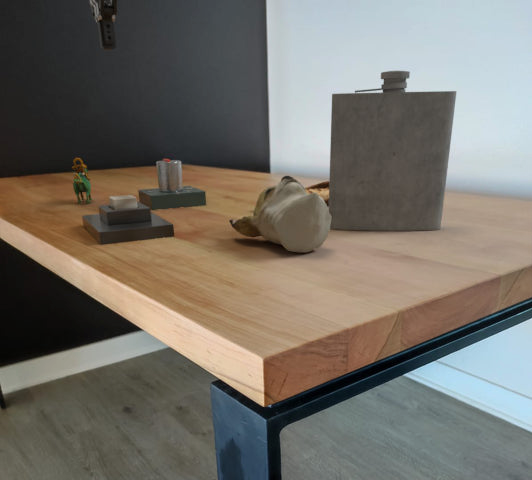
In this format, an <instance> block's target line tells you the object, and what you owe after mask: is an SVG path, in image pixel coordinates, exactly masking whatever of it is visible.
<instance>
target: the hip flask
mask: <svg viewBox="0 0 532 480" xmlns="http://www.w3.org/2000/svg"><path fill="white" fill-rule="evenodd" d="M410 74H411V72H410V71H407V70H388V71H382V72H381V73H380V80H383V84H381V86H380V87H381V88H371V89H359V90H354V92H348V93H346V92H345V93H343V92H341V93H332V94H331V116H330V118H331V119H330V147H329V148H330V149H329V150H330V151H329V153H330V154H329V180H328V181H329V205H328V210H329V214H330V215H331V225H330V230H331V229H332V230H341V231H343V230H344V231H373V232H374V231H375V232H376V231H377V232H381V231H383V232H384V231H385V232H405V231H408V232H409V231H410V232H412V231H413V232H415V231H416V232H417V231H437V230H440V229H442V221H443V220H442V219H443V210H444V202H445V194H446V186H447V177H448V169H449V160H450V151H451V142H452V134H453V124H454V116H455V106H456V99H457V91H456V90H452V91H451V90H445V91H444V90H443V91H442V90H441V91H440V90H439V91H438V90H437V91H435V90H434V91H406V89H407V88H408V82H407V79H410ZM376 91H382V92H376Z"/></svg>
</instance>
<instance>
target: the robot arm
mask: <svg viewBox="0 0 532 480" xmlns="http://www.w3.org/2000/svg"><path fill="white" fill-rule="evenodd" d="M88 4H89V6H90V11H91V14H92V15H91V16H92V18H93V20H95V22H96V23H97V28H98V36H99V44H100V48H101V49H102V50H103V51H114V50H115V49H116V48H117V41H116V32H115V31H116V30H115V24H114V23H115V20H116V16H117V14H118V9H117V8H118V0H88Z"/></svg>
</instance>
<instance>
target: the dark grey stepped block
mask: <svg viewBox="0 0 532 480" xmlns="http://www.w3.org/2000/svg"><path fill="white" fill-rule="evenodd" d="M137 206H138V208H130V209H119V210H112V209H111V208H110V204H103V205H98V206H97V209H98V213H93V214H84V215H81V219H82V226H83V227H84V229H85V230H86V231H87V232H88V233H89V234H90V236H92V237H93V238H94V239H95V240H96V241H97V242H98V244H100V246H101V245H102V246H104V245H111V244H121V243H130V242H138V240H139V241H147V240H148V241H149V240H154V239H155V238H157V239H164V238H163V237H165V238H173V237H172V236H174V237H175V228H174V224H173V223H172V222H170V221H168V220H166V219H164V218H163V217H161V216H159V215H158V214H156V213H154V212H153V211H152V210H151V209H150V208H149V207H147V206H146V205H144V204H142V203H140V202H139V201H137ZM155 240H156V239H155Z"/></svg>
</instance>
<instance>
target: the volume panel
mask: <svg viewBox="0 0 532 480" xmlns="http://www.w3.org/2000/svg"><path fill="white" fill-rule="evenodd" d="M137 192H138V202H140V203H142V204H144V205H146V206H147V207H149V208H150V209H152V210H151V211H159V210H158V209H162V210H170V209H169V208H173V209H181V208H180V207H184V208H193V206H194V207H204V206H207V196H206V195H207V193H206V191H205V190H203V189H199V188H197V187H193V186H191V185H183V190H182V191H176V192H161V191H159V187H157V188H155V187H154V188H142V189H137ZM156 209H157V210H156Z"/></svg>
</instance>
